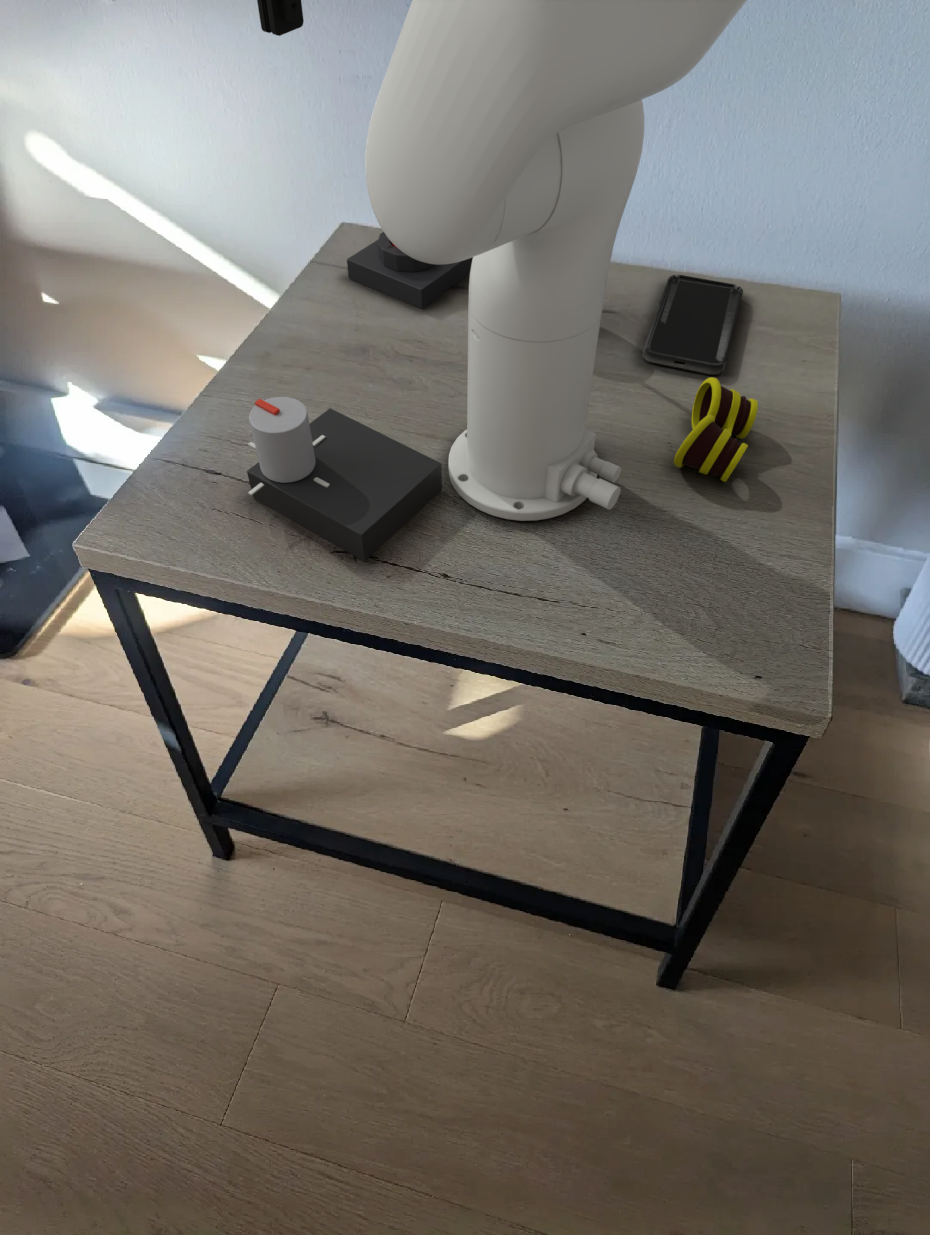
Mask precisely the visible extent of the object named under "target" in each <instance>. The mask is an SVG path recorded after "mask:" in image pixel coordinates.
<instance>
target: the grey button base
mask: <svg viewBox="0 0 930 1235" xmlns="http://www.w3.org/2000/svg"><path fill="white" fill-rule="evenodd" d="M472 259H473V257H472V258H469V259H466V260H463V261H460V262H457V263H451V264H441V265H436V264H429V263H425V262H421V261H418V260H416V259H414V258H412V257H410V256H408V255H407V254H405V253H403V252H402V251H401V250H400V249H398V248H396V247H394V246H393V244H392V242H391V241H390V240H389V239H388V237H387V236H386V235H385V233H384V232H383V231H382V232H380V233H379V236H378V238H377V239H376V240H375V241H372V242H371V243H370V244H369V245H367V246H365V247H363V248H362V249H361V250H359V251H358V252H356V253H354V254H353V255H351V256H349V257H348V258H347V259H346V264H347V274H348V275H347V276H348V279H349V280H352V281H354V282H357V283H358V284H361V285H363V286H366V287H368V288H371V289H374V290H375V291H378V292H379V293H383V294H385V295H388V296H390V297H392V298H394V299H397V300H400V301H402V302H404V303H407V304H409V305H411V306H414V307H416V308H419V309H422V310H423V309H425V307H428V306H429V305H430V304H431V303H432V302H434V301H435V300H437V299H438V298H439V297H442V295H443V294H445V293H446V292H448V291H449V290H450V289H452V288H453V287H454V286H456V285H457V284H459V283H460V282H462V281H463V280H464V279H466V278H467V277H468V276H470V270H471V264H472Z"/></svg>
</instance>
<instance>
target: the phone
mask: <svg viewBox="0 0 930 1235" xmlns="http://www.w3.org/2000/svg"><path fill="white" fill-rule="evenodd" d="M743 294H744V289H743V288H742V287H741V286H740V285H737V284H734V283H728V282H724V281H717V280H712V279H708V278H707V279H706V278H700V277H695V276H690V275H685V274H673V275H670V276H669V277H668V279H667V281H666V284H665V286H664V288H663V291H662V294H661V297H660V299H659V302H658V307H657V310H656V312H655V315H654V317H653V321H652V324H651V326H650V329H649V332H648V335H647V338H646V340H645V344H644V348H643V352H642V358H643V360H644V361H645V362H647V363H649V364H653V365H658V366H661V367H662V366H663V367H667V368H673V369H678V370H682V371H688V372H694V373H699V374H703V375H708V376H718V375H721V374H722V373H723V372H724V370H725V366H726V364H727V359H728V354H729V350H730V347H731V346H730V345H731V342H732V338H733V334H734V331H735V326H736V322H737V319H738V314H739V311H740V307H741V303H742V298H743Z"/></svg>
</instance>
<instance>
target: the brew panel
mask: <svg viewBox="0 0 930 1235" xmlns="http://www.w3.org/2000/svg"><path fill="white" fill-rule="evenodd" d="M309 424H310V430H311V436H312V442H313V448H314V454H315V460H316V463H315V467H314V469H313V471H312V472H311V473H310V474H309V475H308V476H306V477H305V478H303V479H301V480H298V481H295V482H289V483H281V482H275V481H272V480H270V479H268V478H267V477H266V476H264V474H263V473H262V471H261V469H260V464H259V461H258V462H256V463H255V464H254V465H253V466H251V467H250V468H249V469H247V470H246V474H247V477H248V482H249V486H250V490H249V491H248V492H247V494H248V495H250V496H252V497H253V499H254V500H255V501H258V502H259V503H261V504H262V505H265V506H266V507H268V508H269V509H271V510H273V511H275V512H276V513H278V514H280V515H282V516H284V517H285V518H287V519H289V520H291V521H292V522H294V523H296V524H297V525H300V526H301V527H302V528H304V529H306V530H308V531H310V532H311V533H314V534H315V535H317V536H319V537H320V538H322V539H324V540H326V541H327V542H329V543H331V544H333V545H334V546H336V547H338V548H340V549H341V550H343V551H345V552H347V553H349V554H351V555H352V556H353V557H355V558H357V559H359V560H361V561H363V562H364V563H365V562H367V561H368V559H370V558H371V557H372V556H373V555H374V554H375V553H376V552H377V551H379V549H380V548H382V547H383V546H384V545H385V544H386V543H387V542H388V541H389V540H391V538H392V537H394V536H395V535H396V534H397V533H398V532H399V531H400V530H401V529H402V528H403V527H404V526H406V525H407V524H408V523H409V522H410V521H411V520H412V519H413V518H414V517H415V516H416V515H418V514H419V513H420V512H421V511H422V510H423V509H424V508H425V507H426V506H427V505H428V504H430V503H431V501H433V500H434V499H435V498H436V497H437V496H438V495H439V494H440V493H442V492H443V463H442V462H440V461H438V460H436V459H434V458H432V457H430V456H428V455H426V454H423V453H422V452H420V451H418V450H415V449H414V448H411V447H409V446H408V445H406V444H403V443H401V442H400V441H397V440H395V439H394V438H391V437H389V436H387V435H385V434H383V433H382V432H379V431H377V430H375V429H373V428H371V427H369V426H367V425H365V424H363V423H361V422H359V421H357V420H355V419H354V418H351V417H349V416H347V415H345V414H343V413H341V412H339V411H337V410H334V409H333V408H331V407H329V408H328V409H327V410H325V411H324V412H323V413H321V414H320V415H319V416H317V417H316V418H315V419H314V420H312V421H311V422H309ZM247 445H248V446H249V447H250V448H252V449H254V450H256V447H255V443H254V442H253V441H250V442H248V443H247Z"/></svg>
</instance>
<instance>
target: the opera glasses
mask: <svg viewBox="0 0 930 1235" xmlns="http://www.w3.org/2000/svg"><path fill="white" fill-rule="evenodd" d="M692 404H693V405H692V411H691V428H692V430H691V431H690V433H689V434H688V435H686V438H685V439H684V440H683V442H682V443H681V444H680V445H679V447H678V449H677V451H676V453H675V455H674V458H673V464H674V466H675V467H677V468H682V467H684V466H686V467H689V468H693V469H696V470H699V471H698V473H699V474H703V475H708V474H712V476H713V477H716V476H718V477H720V480H721V481H722V482H724V483H727V481H728V480H729V478H730V476H731V474H732V473H733V472H734V470H735V469H736V467H737V465H738V464H739V462H740V460H741V458H742V457H743V455H744V454H745V452H746V450H747V449H748V447H749V444H747V443H745V442H742V443H740V442H738V439H742V440H744V439H745V438H746V437H747V436H748V434H749V433H750V431H751V429H752V428H753V425H754V423H755V420H756V417H757V413H758V410H759V402H758V400H757V399H754V398H749V399H747V397H746V396H745V395H742V396H741V393H740V392H738V391H737V390H735V389H734V388H730V389H728V388H726V387H724V386H722V385H721V382H720V380H719V379H718V378H717V377H714V376H711V377H707V378H706V379H705V380H704V381H702V383H701V384H700V386H699V387H698V389H697V391H696V394H695V397H694V401H693V403H692ZM734 435H735V438H733V437H732V436H734Z"/></svg>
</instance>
